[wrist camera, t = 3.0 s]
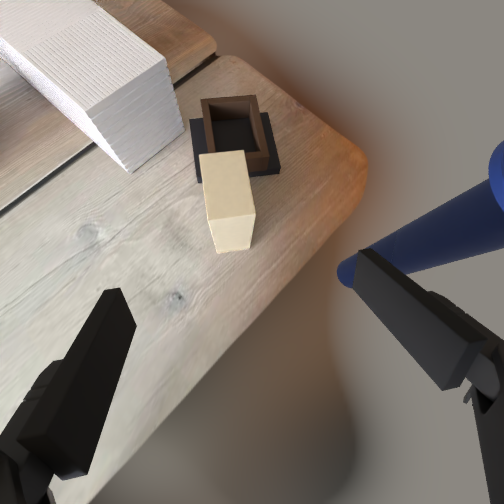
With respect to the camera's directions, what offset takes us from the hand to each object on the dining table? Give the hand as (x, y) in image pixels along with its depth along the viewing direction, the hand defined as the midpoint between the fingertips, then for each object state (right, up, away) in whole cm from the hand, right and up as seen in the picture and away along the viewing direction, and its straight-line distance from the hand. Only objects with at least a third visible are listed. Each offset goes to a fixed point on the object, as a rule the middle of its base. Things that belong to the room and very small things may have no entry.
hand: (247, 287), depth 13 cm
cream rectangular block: (-3, +5, +20) cm, 20 cm away
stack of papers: (-26, +27, +24) cm, 45 cm away
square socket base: (-2, +18, +23) cm, 29 cm away
